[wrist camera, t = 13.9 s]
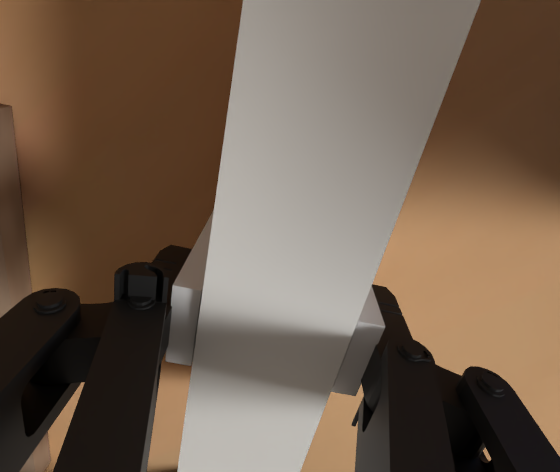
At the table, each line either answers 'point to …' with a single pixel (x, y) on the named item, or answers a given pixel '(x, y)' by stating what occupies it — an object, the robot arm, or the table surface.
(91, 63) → the table surface
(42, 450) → the cable cradle
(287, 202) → the white slab
